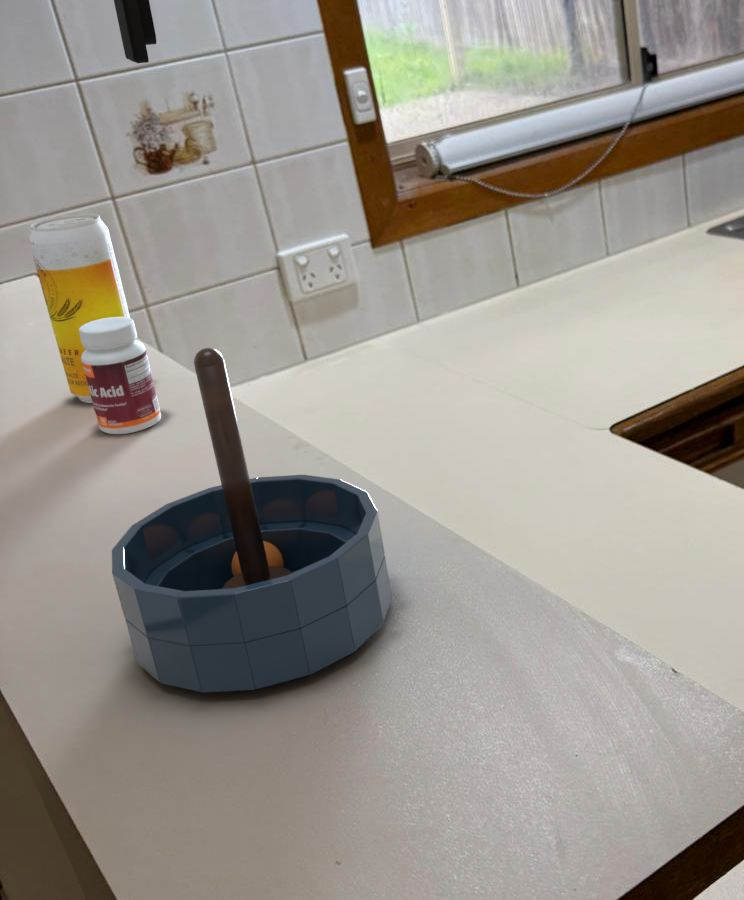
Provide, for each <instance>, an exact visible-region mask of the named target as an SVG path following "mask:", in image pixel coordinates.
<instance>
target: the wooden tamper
mask: <svg viewBox="0 0 744 900" xmlns="http://www.w3.org/2000/svg"><path fill="white" fill-rule="evenodd" d="M193 364H194V370H195V375H196V379H197V383H198V389H199V393H200V396H201V401H202V405H203V411H204V414H205V419H206V423H207V427H208V432H209V436H210V440H211V445H212V450H213V453H214V458H215V461H216V463H215V464H216V467H217V471H218V476H219V480H220V485H222V489H223V493H224V498H225V502H226V507H227V511H228V515H229V520H230V524H231V529H232V533H233V537H234V542H235V546H236V551H237V555H238V559H239V564H240V568H241V573H240V574H238V575H236V576H234V577H233V578H231V579H230V580H228V581H227V582H226V583H225V585H224V586H223V588H222V589H231V588H238V587H242V586H246V585H250V584H254V583H258V582H263V581H267V580H271V579H275V578H279V577H283V576H287V575H289V574H291V573H292V572H291V571H290V570H288V569H286V568H283V567H276V566H268V562H267V557H266V552H265V548H264V543H263V538H262V534H261V529H260V525H259V520H258V515H257V511H256V506H255V501H254V497H253V492H252V488H251V483H250V479H251V478H250V475H249V470H248V465H247V460H246V455H245V451H244V446H243V442H242V437H241V434H240V428H239V423H238V419H237V414H236V410H235V405H234V400H233V395H232V391H231V386H230V382H229V381H230V380H229V377H228V373H227V368H226V363H225V359H224V356H223V354H222V353H221V352H220V351H219V350H217V349H215V348H212V347H205V348H202V349H200V350H199V351H198V352H197V353H195V356H194V359H193Z"/></svg>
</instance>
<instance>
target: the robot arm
mask: <svg viewBox="0 0 744 900" xmlns="http://www.w3.org/2000/svg"><path fill="white" fill-rule="evenodd" d="M113 3H114V7H115V13H116V17H117V22H118V27H119V32H120V33H119V34H120V37H121V42H122V47H123V53H124V55H125V59H127V60H129V61H131V62H133V63H136V64H146V63H147V64H148V63H149V53H148V49H147V46H150V45H156V44H157V34H156V29H155V24H154V20H153V14H152V9H151V4H150V0H113Z"/></svg>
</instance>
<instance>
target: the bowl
mask: <svg viewBox="0 0 744 900" xmlns="http://www.w3.org/2000/svg"><path fill="white" fill-rule="evenodd" d="M250 483H251V488H252V492H253V497H254V501H255V506H256V511H257V515H258V520H259V525H260V529H261V534H262V538H263V541H266V542H269V543H271V544H273V545H274V546H275V547H276V548H277V549H278V550H279V551H280V553H281V555H282V558H283V563H284V567H283V568H286V569H288V570H290V571H291V572H292V573H291V574H289V575H287V576H283V577H279V578H275V579H271V580H267V581H263V582H258V583H254V584H250V585H246V586H242V587H238V588H231V589H222V588H223V586H224V585H225V583H226V582H227V581H228V580H230V579H231V578H233V577H234V576H233V573H232V559H233V556H234V554H235V553H236V546H235V542H234V537H233V533H232V529H231V524H230V520H229V515H228V511H227V507H226V502H225V498H224V493H223V489H222V485H221V484H220V485H215V486H210V487H208V488H205V489H203V490H200V491H198V492H194V493H192V494H189V495H186V496H184V497H182V498H179V499H176V500H174V501H171V502H168V503H166V504H164V505H162V506H161V507H159V508H158V509H156V510H154V511H153V512H151V513H149V514H148V515H146V516H145V517H143V518H141V519H140V520H138V521H137V522H135V523H133V524H132V525H131V526H130V527H129V528H128V530H127V531H126V532H125V534H123V536H122V537H121V538H120V539H119V540H118V542H117V543H116V544H115V545H114V546H113V547H112V549H111V575H112V577H113V581H114V584H115V588H116V591H117V595H118V599H119V602H120V607H121V609H122V613H123V616H124V619H125V623H126V627H127V631H128V635H129V638H130V641H131V645H132V649H133V652H134V656H135V659H136V662H137V664H138V665H139V666H140V667H141V668H142V669H143V670H144V671H146V673H148V674H149V675H151V677H153V679H155V680H156V681H158V683H160V684H162V685H168V686H172V687H177V688H180V689H186V690H190V691H194V692H199V693H219V692H220V693H221V692H239V691H254V690H259V689H262V688H267V687H272V686H275V685H280V684H284V683H287V682H290V681H293V680H296V679H299V678H303V677H306V676H309V675H313V674H314V673H317V672H319V671H320V670H322V669H324V668H326V667H328V666H330V665H332V664H334V663H336V662H338V661H340V660H341V659H343V658H345V657H348V656H349V655H352V654H353V653H354V652H356V651H358V649H359V648H360V647H361V646H362V645H363V644H364V643H365V642H367V641H368V640H369V638H371V637H372V636H373V635H374V634H375V633H376V632H377V631H378V630H379V629H380V628H381V627H382V626H383V624H384V623H385V622H384V621H385V619H386V616H387V613H388V610H389V608H390V605H391V602H392V598H393V596H392V589H391V585H390V584H391V583H390V578H389V571H388V565H387V560H386V559H387V558H386V554H385V548H384V541H383V536H382V531H381V525H380V519H379V512H378V509H377V507H376V506H375V504H374V502H373V500H372V498H371V495H370V494H369V493H368V491H366V490H364V489H362V488H360V487H358V486H356V485H353V484H352V483H349V482H347V481H346V480H343V479H340V478H333V477H324V476H316V475H310V474H291V475H289V474H288V475H275V476H260V477H259V476H258V477H253V478H250Z"/></svg>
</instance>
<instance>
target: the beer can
mask: <svg viewBox="0 0 744 900" xmlns="http://www.w3.org/2000/svg"><path fill="white" fill-rule="evenodd" d="M28 243H29V247H30V251H31V254H32V258H33V262H34V265H35V268H36V272H37V276H38V279H39V283H40V287H41V290H42V294H43V298H44V302H45V305H46V308H47V312H48V313H47V314H48V316H49V320H50V323H51V327H52V331H53V335H54V337H55V342H56V345H57V349H58V352H59V356H60V359H61V364H62V368H63V370H64V375H65V377H66V382H67V384H68V389H69V392H70V393H71V394H72V395H74V396H76V397H77V398H78V399H79V401H80V402H83V403H86V404H87V403H88V404H93V402H92V399H91V395H90V391H89V387H88V383H87V380H86V376H85V372H84V368H83V365H82V360H81V356H82V353H83V352H84V351H85V350H86V349H87V348H84V347H83V344H82V343H81V338H80V333H79V328H80V327H81V326H82V325H84V324H86V323H89V322H91V321H95V320H99V319H104V318H110V317H128V318H131V316H130V313H129V307H128V303H127V299H126V295H125V291H124V287H123V282H122V278H121V275H120V270H119V267H118V263H117V258H116V255H115V250H114V247H113V243H112V238H111V234H110V229H109V228H108V226H107V225H106V224H105V223H104V221H103V220H102V219H101V216H100V214H97V213H76V214H75V213H73V214H66V215H59V216H55V217H49V218H44V219H42V220H41V219H40V220H39V221H36V222H33V223H31V225H30V233H29V238H28Z"/></svg>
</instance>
